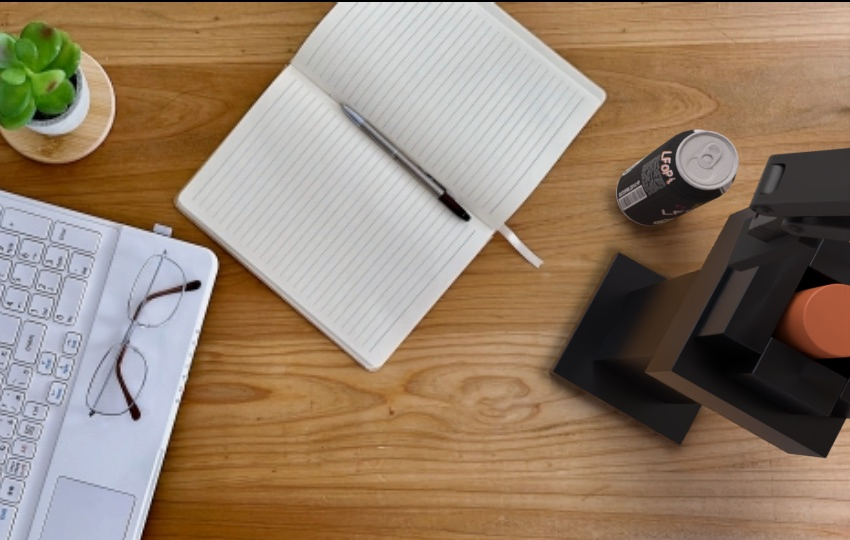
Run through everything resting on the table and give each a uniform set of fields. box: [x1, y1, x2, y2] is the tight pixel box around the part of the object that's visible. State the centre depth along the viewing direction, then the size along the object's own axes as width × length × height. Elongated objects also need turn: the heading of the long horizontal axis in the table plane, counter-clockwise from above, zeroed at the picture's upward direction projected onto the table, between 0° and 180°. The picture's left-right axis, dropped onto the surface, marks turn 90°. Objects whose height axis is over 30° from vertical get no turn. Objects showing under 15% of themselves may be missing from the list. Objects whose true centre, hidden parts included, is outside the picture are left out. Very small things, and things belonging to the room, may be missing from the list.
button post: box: [548, 206, 850, 459], centre depth 61 cm, size 12×12×26 cm
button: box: [773, 284, 850, 359], centre depth 48 cm, size 4×4×3 cm
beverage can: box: [615, 128, 740, 227], centre depth 70 cm, size 6×6×12 cm
